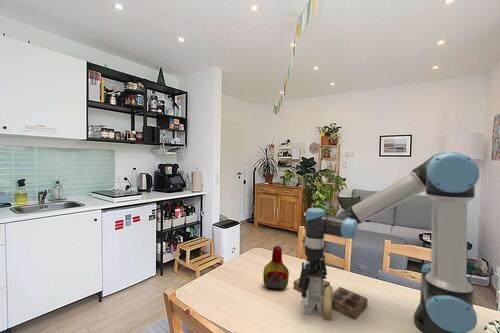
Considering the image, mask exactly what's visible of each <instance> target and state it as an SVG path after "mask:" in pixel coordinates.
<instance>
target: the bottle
mask: <svg viewBox="0 0 500 333" xmlns="http://www.w3.org/2000/svg"><path fill="white" fill-rule="evenodd" d="M272 249H273V250H272V256H271V260H270V261H269V262H268V263H267V264H266V265H265V266H264V267H263V275H262V276H263V284H264V286H265V287H266V288H267V289H269V290H276V291H282V290H285V289H286V288H287V287H288V285H289V277H290V271H289V268H288V267H287V266H286V265H285V264H284V263H283V250H282V247H281V246H280V245H276V246H274V247H273V248H272Z"/></svg>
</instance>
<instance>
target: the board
mask: <svg viewBox="0 0 500 333" xmlns="http://www.w3.org/2000/svg"><path fill="white" fill-rule="evenodd" d="M299 280H300V277H299V278H297V279H295V280H294V281H293V289H294V290H296V291H298V292H299V293H302V289H300V288H298V285H299ZM324 285H329V286H331V282H330V281H327V280H326V279H324Z"/></svg>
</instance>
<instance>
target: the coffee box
mask: <svg viewBox="0 0 500 333" xmlns="http://www.w3.org/2000/svg"><path fill="white" fill-rule="evenodd" d="M309 270H311V269H309ZM309 277H310V283H309V286H308V289H309V302H308V306H306V305H304V312H305V314H308V315H313V316H321V317H322V297H323V295H322V272H321V269H319V268H317V269H315V271H314V273H312V274H311V275H310V274H308V276H307V278H309Z"/></svg>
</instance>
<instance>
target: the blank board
mask: <svg viewBox="0 0 500 333" xmlns="http://www.w3.org/2000/svg"><path fill="white" fill-rule="evenodd" d="M367 307H368V298H367V297H365V296H363V295H360V294H359V293H357V292H353V291H351V290H349V289H347V288H345V287H342V286H339V287H337V289H335V290H334V291H333V293H332V310H333V309H334V310H335V311H337V312H339V313H342V314H343V315H345V316H347V317H349V318H351V319H354V320H356V319H357V318H358V317H359V316H360V315H361V314H362V313H363V311H365V309H366V308H367Z"/></svg>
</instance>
